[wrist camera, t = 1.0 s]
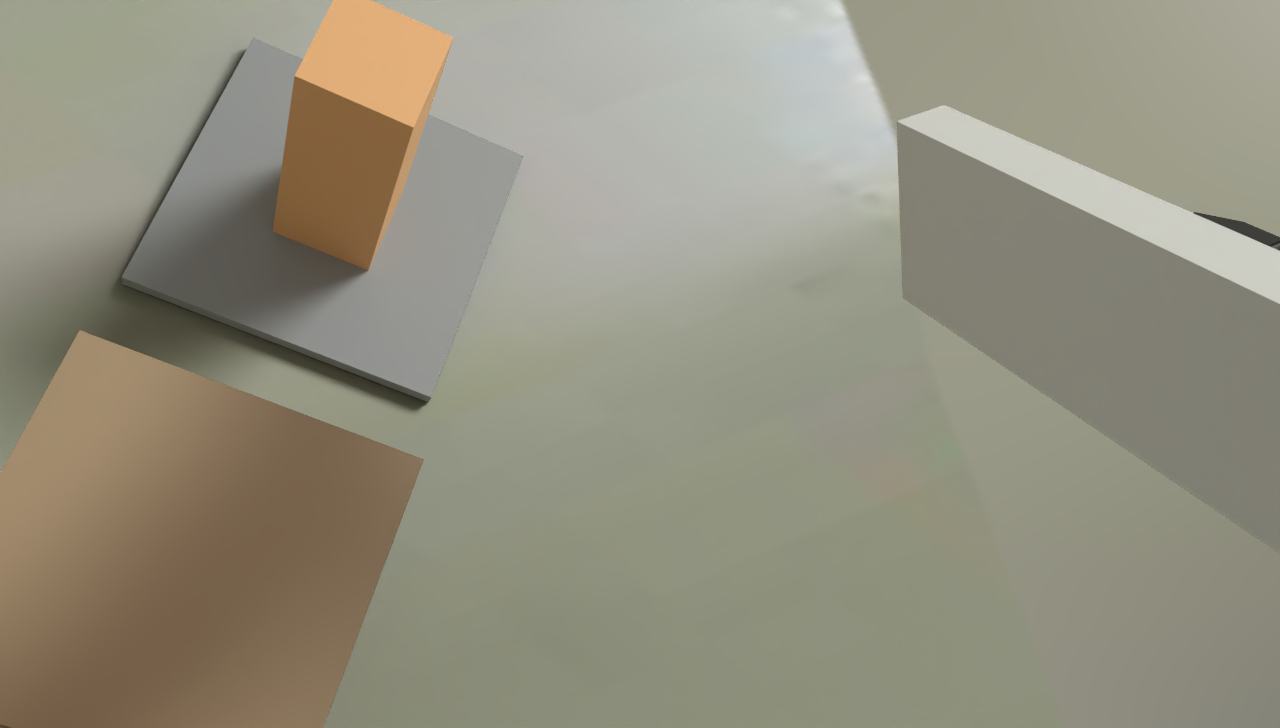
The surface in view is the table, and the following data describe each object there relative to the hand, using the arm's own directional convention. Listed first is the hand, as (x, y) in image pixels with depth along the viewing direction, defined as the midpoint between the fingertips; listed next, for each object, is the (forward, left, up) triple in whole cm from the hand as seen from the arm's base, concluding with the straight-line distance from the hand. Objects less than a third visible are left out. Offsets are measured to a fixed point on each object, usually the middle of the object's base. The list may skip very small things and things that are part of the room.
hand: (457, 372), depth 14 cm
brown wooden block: (0, -3, -15) cm, 16 cm away
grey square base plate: (-10, +4, -15) cm, 19 cm away
